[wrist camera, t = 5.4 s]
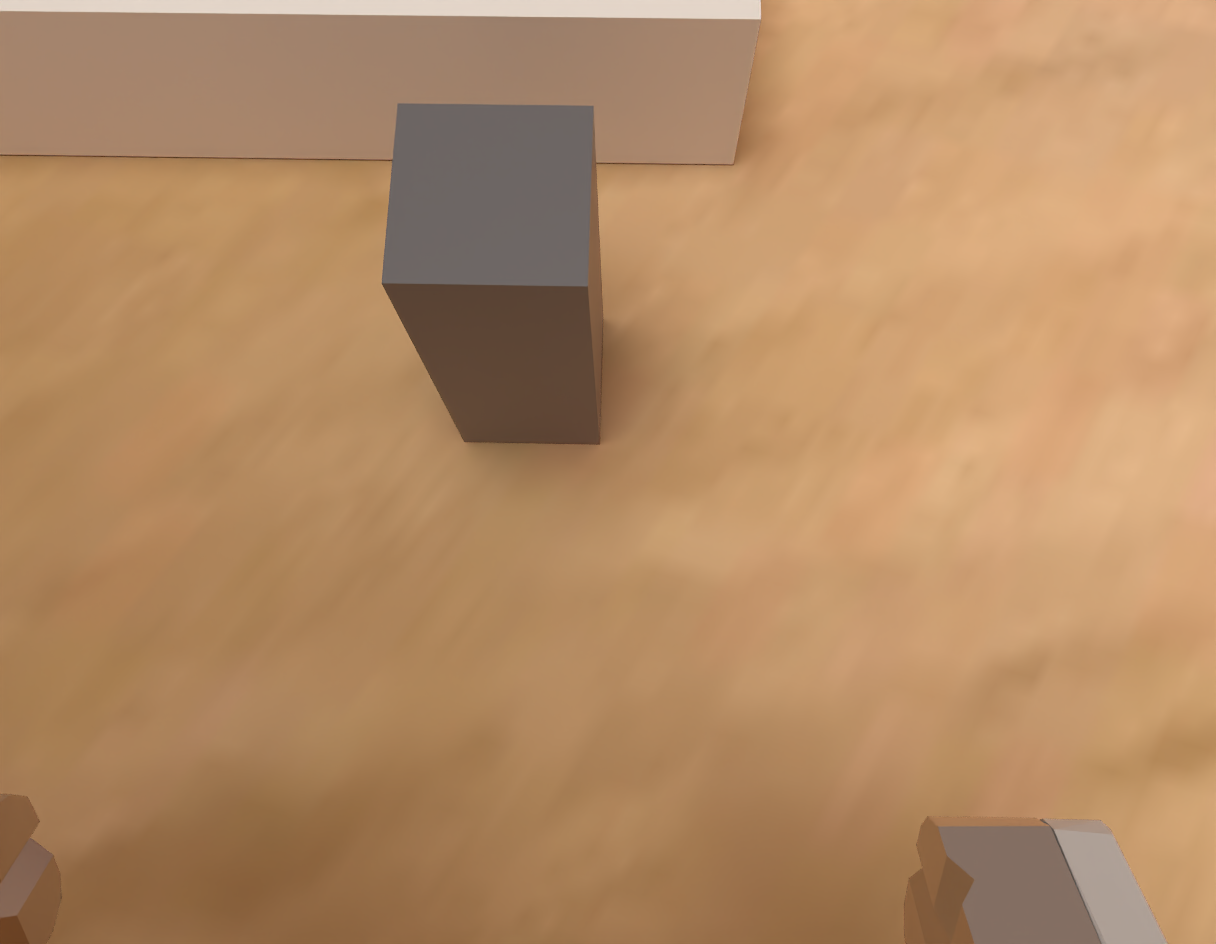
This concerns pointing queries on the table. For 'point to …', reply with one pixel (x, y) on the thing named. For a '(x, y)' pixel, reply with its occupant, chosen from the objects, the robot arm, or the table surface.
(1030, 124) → the table surface
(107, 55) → the white socket block
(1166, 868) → the table surface
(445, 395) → the plug
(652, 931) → the table surface
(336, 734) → the table surface
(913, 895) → the robot arm
